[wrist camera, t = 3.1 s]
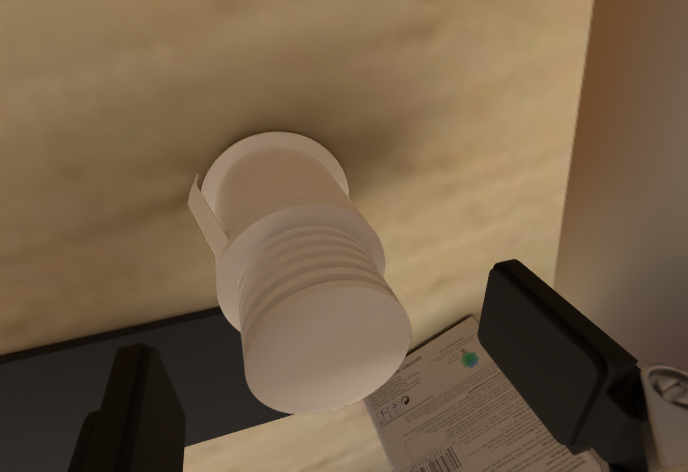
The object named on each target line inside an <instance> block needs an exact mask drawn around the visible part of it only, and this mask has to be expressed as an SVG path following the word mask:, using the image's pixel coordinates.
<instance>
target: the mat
mask: <svg viewBox="0 0 688 472" xmlns="http://www.w3.org/2000/svg"><path fill="white" fill-rule="evenodd" d="M141 342H146V343H147V344H148V346H149V347H151V346H156V348H157V349H158V352H159V354H160V356H161V359H162V361H163V363H164V366H165V368H166V370H167V373H168V375H169V377H170V380H171V382H172V384H173V387H174V389H175V391H176V394H177V396H178V398H179V401H180V403H181V405H182V408H183V410H184V413H185V418H186V431H185V446H184V447H187V446H190V445H193V444H197V443H200V442H203V441H207V440H210V439H213V438H217V437H220V436H223V435H227V434H230V433H233V432H237V431H240V430H243V429H247V428H250V427H253V426H257V425H260V424H264V423H267V422H270V421H274V420H277V419H280V418H284V417H287V416H290V415H294V414H290V413H285V412H281V411H278V410H275V409H272V408H270V407H268V406H267V405H265V404H263V403H262V402H261V401H259V400H258V399H257V398H256V397H255V396H254V394H253V393H252V392H251V390H250V388H249V386H248V384H247V381H246V377H245V369H244V358H243V348H242V339H241V332H240V331H238V330H237V329H236V328H235V327H234V326H233V325H232V324H231V323H230V322H229V321H228V320H227V318H226V317H225V316H224V314H223V312H222V310H221V308H220V307H219V308H215V309H210V310H206V311H201V312H197V313H192V314H188V315H183V316H179V317H174V318H170V319H166V320H161V321H157V322H152V323H148V324H143V325H139V326H134V327H130V328H125V329H121V330H116V331H112V332H107V333H103V334H99V335H94V336H90V337H85V338H81V339H76V340H72V341H67V342H63V343H58V344H54V345H49V346H45V347H40V348H36V349H31V350H27V351H23V352H18V353H14V354H9V355H5V356H0V472H67V471H68V468H69V465H70V462H71V459H72V456H73V452H74V449H75V446H76V443H77V440H78V437H79V434H80V430H81V427H82V424H83V422H84V420H85V417H86V416H87V415H88V414H89V413H90V412H93V411H96V410H100V407H101V404H102V400H103V397H104V393H105V390H106V386H107V383H108V379H109V376H110V372H111V369H112V365H113V362H114V358H115V355H116V352H117V349H118V348H119V347H123V346H128V345H132V344H137V343H141Z"/></svg>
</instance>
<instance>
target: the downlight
mask: <svg viewBox="0 0 688 472" xmlns="http://www.w3.org/2000/svg"><path fill="white" fill-rule="evenodd" d="M198 175H199V173H197V176H196V178H195V181H194V183H193V186H192V188H191V190H190V194H189V199H188V204H187V205H188V206H189V208H190V210H191V212H192V214H193V216H194V218H195V220H196V222H197V223H198V225H199V227H200V229H201V231H202V233H203V235H204V237H205V239H206V241H207V242H208V244H209V246H210V248H211V250H212V252H213V254H214V256H215V258H216V292H217V298H218V302H219V305H220V308H221V310H222V312H223V314H224V316H225V317H226V318H227V320H228V321H229V322H230V323H231V324H232V325H233V326H234V327H235V328H236V329H237V330H238V331H240V332H241V339H242V348H243V358H244V369H245V377H246V381H247V384H248V386H249V388H250V390H251V392H252V393H253V394H254V396H255V397H256V398H257V399H258V400H259V401H261V402H262V403H263V404H265V405H267V406H268V407H270V408H272V409H275V410H278V411H281V412H285V413H290V414H300V415H308V414H319V413H325V412H330V411H334V410H337V409H340V408H343V407H346V406H348V405H351V404H353V403H355V402H357V401H359V400H361V399H363V398H365V397H366V396H368V395H370V394H371V393H373V392H374V391H375V390H377V389H378V388H379V387H381V386H382V385H383V384H384V383H385V382H386V381H387V380H388V379H389V378H390V377H391V376H392V375H393V374H394V373H395V372H396V370H397V369H398V368H399V366H400V365H401V363H402V362H403V360H404V358H405V356H406V354H407V351H408V348H409V345H410V341H411V325H410V321H409V317H408V315H407V313H406V311H405V310H404V308H403V307H402V305H401V304H400V302H399V301H398V299H397V298H396V296H395V295H394V293H393V292H392V290H391V289H390V287H389V286H388V284H387V282H386V281H385V279H384V278H383V277H384V271H385V256H384V251H383V247H382V244H381V242H380V240H379V238H378V236H377V235H376V233H375V231H374V230H373V229H372V228H371V226H370V225H369V224H368V222H367V221H366V220H365V218H364V217H363V216H362V214H361V213H360V212H359V211H358V209H357V208H356V207H355V205H354V204H353V203H352V201H351V200H350V199H349V188H348V183H347V179H346V176H345V174H344V172H343V169H342V168H341V166H340V164H339V163H338V161H337V160H336V159H335V157H334V156H333V155H332V154H331V153H330V152H329V151H328V150H327V149H326V148H325V147H323V146H322V145H320V144H319V143H318V142H316V141H314V140H312V139H310V138H308V137H305V136H302V135H299V134H295V133H290V132H265V133H260V134H256V135H252V136H249V137H247V138H244V139H242V140H240V141H238V142H236V143H235V144H233V145H232V146H230V147H229V148H227V149H226V150H225V151H224V152H223V153H222V154H221V155H220V156H219V157H218V158H217V159H216V160H215V161H214V163H213V164H212V165H211V167H210V169H209V170H208V172H207V174H206V176H205V178H204V181H203V184H202V188H201V192H200V190H199V188H198V187H197V180H198Z"/></svg>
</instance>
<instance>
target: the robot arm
mask: <svg viewBox="0 0 688 472" xmlns="http://www.w3.org/2000/svg"><path fill="white" fill-rule="evenodd" d="M477 335H478V340H479V342H480V344H481V346H482V347H483V348H484V349H485V351H486V352H487V353H488V355H489V356H490V357H491V358H492V360H493V361H494V362H495V363H496V365H497V366H498V367H499V369H500V370H501V371H502V372H503V374H504V375H505V376H506V377H507V379H508V380H509V381H510V383H511V384H512V385H513V386H514V388H515V389H516V390H517V391H518V393H519V394H520V395H521V397H522V398H523V399H524V400H525V402H526V403H527V404H528V405H529V407H530V408H531V409H532V411H533V412H534V413H535V414H536V416H537V417H538V418H539V419H540V421H541V422H542V423H543V425H544V426H545V427H546V428H547V430H548V431H549V432H550V433H551V435H552V436H553V437H554V439H555V440H556V441H557V442H558V443H560V444H561V445H565V446H566V447H567V449H568V450H569V451H570V452H571V454H572V455H573V456H574V455H577V454H580V453H583V452H585V451H588V450H590V449H591V448H593V449H594V450H595V451H596V453H597V454H598V455H599V459H600V467H601V472H688V371H686V370H684V369H682V368H679V367H676V366H673V365H669V364H663V363H653V364H649V365H647V366H645V367H644V368H643V369H642V370H641V369H640V368H638V367H637V366H636V364H637V362H638V360H636V359H635V358H634V357H633V356H632V355H631V354H629V353H628V352H627V351H626V350H625V349H624V348H622V347H621V346H620V345H619V344H617V343H616V342H615V341H614V340H613V339H611V338H610V337H609V336H608V335H607V334H605V333H604V332H603V331H602V330H601V329H600V328H598V327H597V326H596V325H595V324H594V323H592V322H591V321H590V320H589V319H588V318H587V317H585V316H584V315H583V314H582V313H580V312H579V311H578V310H577V309H576V308H575V307H573V306H572V305H571V304H570V303H569V302H567V301H566V300H565V299H564V298H563V297H561V296H560V295H559V294H558V293H557V292H555V291H554V290H553V289H552V288H551V287H550V286H548V285H547V284H546V283H545V282H544V281H542V280H541V279H540V278H539V277H538V276H536V275H535V274H534V273H533V272H532V271H530V270H529V269H528V268H527V267H526V266H524V265H523V264H522V263H521V262H520V261H518V260H516V259H512V260H508V261H503V262H499V263H496V264H495V265H494V267H493V269H491V270H490V273H489V277H488V282H487V287H486V292H485V297H484V303H483V308H482V313H481V318H480V323H479V328H478V334H477ZM185 431H186V418H185V413H184V410H183V408H182V405H181V403H180V401H179V398H178V396H177V394H176V391H175V389H174V387H173V384H172V382H171V380H170V377H169V375H168V373H167V370H166V368H165V366H164V363H163V361H162V359H161V356H160V354H159V352H158V349H157V348H156V346H151V347H149V346H148V344H147V343H146V342H141V343H137V344H132V345H128V346H123V347H119V348H118V349H117V352H116V355H115V358H114V362H113V365H112V369H111V372H110V376H109V379H108V383H107V386H106V390H105V393H104V397H103V400H102V404H101V407H100V410H96V411H93V412H90V413H89V414H88V415H87V416H86V417H85V420H84V422H83V424H82V427H81V430H80V434H79V437H78V440H77V443H76V446H75V449H74V452H73V456H72V459H71V462H70V465H69V468H68V471H67V472H183V460H184V446H185Z"/></svg>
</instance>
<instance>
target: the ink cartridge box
mask: <svg viewBox="0 0 688 472" xmlns="http://www.w3.org/2000/svg"><path fill="white" fill-rule="evenodd" d="M478 328H479V323H478V322H477V320H476V319H475V317H474V316H473V317H469V318H467V319H466V320H464V321H463V322H461V323H459V324H458V325H456V326H455V327H453V328H451V329H450V330H448V331H447V332H445V333H443V334H442V335H440V336H439V337H437V338H435V339H434V340H432V341H431V342H429V343H427V344H426V345H424V346H423V347H421V348H419V349H418V350H416V351H415V352H413V353H411V354H410V355H408V356H406V357H405V358H404V360H403V362H402V363H401V365H400V366H399V368H398V369H397V370H396V372H395V373H394V374H393V375H392V376H391V377H390V378H389V379H388V380H387V381H386V382H385V383H384V384H383V385H382V386H381V387H379V388H378V389H377V390H375V391H374V392H373V393H371V394H370V395H368V396H366V397H365V398H363V399H364V402H365V404H366V407H367V409H368V411H369V414H370V416H371V419H372V421H373V424H374V426H375V429H376V431H377V433H378V436H379V438H380V441H381V444H382V446H383V449H384V451H385V454H386V456H387V458H388V461H389V463H390V466H391V468H392V470H393V472H601V467H600V464H599V463H598V462H597V461H596V459H595V458H594V457H593V456H592V455H591V454H590V453H589V451H585V452H583V453H580V454H577V455H574V456H573V455H572V454H571V452H570V451H569V450H568V449H567V447H566V446H565V445H561V444H560V443H558V442H557V441H556V440H555V439H554V437H553V436H552V435H551V433H550V432H549V431H548V430H547V428H546V427H545V426H544V425H543V423H542V422H541V421H540V419H539V418H538V417H537V416H536V414H535V413H534V412H533V411H532V409H531V408H530V407H529V405H528V404H527V403H526V402H525V400H524V399H523V398H522V397H521V395H520V394H519V393H518V391H517V390H516V389H515V388H514V386H513V385H512V384H511V383H510V381H509V380H508V379H507V377H506V376H505V375H504V374H503V372H502V371H501V370H500V369H499V367H498V366H497V365H496V363H495V362H494V361H493V360H492V358H491V357H490V356H489V355H488V353H487V352H486V351H485V349H484V348H483V347H482V346H481V344H480V342H479V340H478V335H477V334H478Z"/></svg>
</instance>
